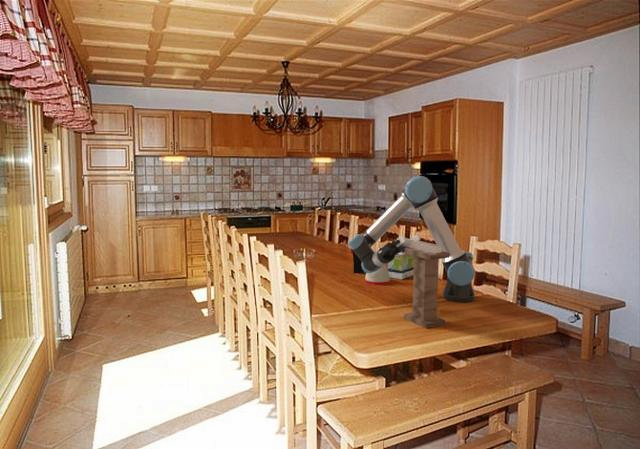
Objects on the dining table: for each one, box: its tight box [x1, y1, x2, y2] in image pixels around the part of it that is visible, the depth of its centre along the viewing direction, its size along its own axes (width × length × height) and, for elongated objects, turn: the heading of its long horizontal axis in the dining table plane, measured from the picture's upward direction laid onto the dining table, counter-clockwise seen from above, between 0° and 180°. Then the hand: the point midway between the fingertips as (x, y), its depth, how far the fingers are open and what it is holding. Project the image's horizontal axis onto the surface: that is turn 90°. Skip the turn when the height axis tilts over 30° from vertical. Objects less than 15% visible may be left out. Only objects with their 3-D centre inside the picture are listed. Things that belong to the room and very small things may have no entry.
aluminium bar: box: [396, 237, 441, 254], centre depth 203 cm, size 25×3×3 cm, turn 28°
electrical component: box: [350, 248, 366, 275], centre depth 298 cm, size 18×10×20 cm, turn 168°
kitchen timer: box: [364, 265, 391, 286], centre depth 269 cm, size 14×14×15 cm
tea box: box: [387, 252, 414, 280], centre depth 283 cm, size 15×10×15 cm
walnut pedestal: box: [403, 248, 450, 329], centre depth 200 cm, size 16×10×30 cm, turn 28°
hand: (411, 237), depth 206 cm, fingers open, 7 cm apart
